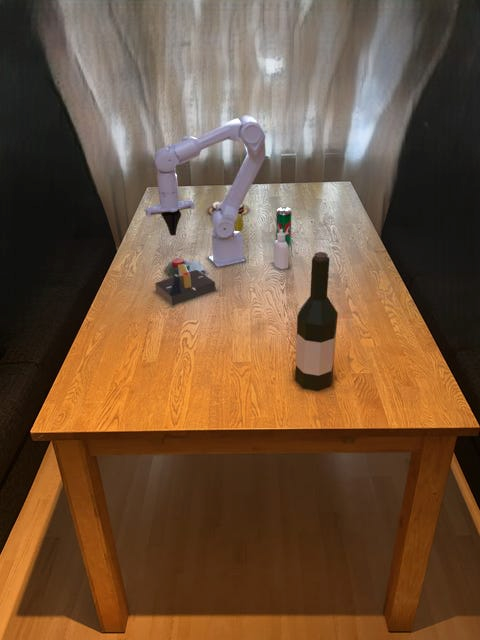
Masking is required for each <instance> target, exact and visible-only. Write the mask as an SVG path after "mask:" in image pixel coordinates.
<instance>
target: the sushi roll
mask: <svg viewBox="0 0 480 640" xmlns="http://www.w3.org/2000/svg"><path fill="white" fill-rule="evenodd" d="M224 200H225V199H221V200H219V201H215V202H214V203H212V206H211V207H210V208H209V210H208V212H209V213H210V215H212V214H213V212H214V211H216V210H217V209H218V208H219V206H220V204H221V203H222V202H224ZM247 212H248V207H247V206H246V205H244V203H242V204H241V206H240V208H239V210H238V214H240V215H241V216H243V215H245V214H247Z"/></svg>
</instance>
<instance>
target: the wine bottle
mask: <svg viewBox="0 0 480 640" xmlns="http://www.w3.org/2000/svg"><path fill="white" fill-rule="evenodd" d="M330 259H331V258H330V257H329V256H328V253H326V252H324V251H318V252H315V253H314V256H313V257H312V258H311V270H310V271H311V273H310V274H311V275H310V294H309V296H308V298H307V299H306V301H305V302H304V303H303V305H301V307H300V309H299V311H298V313H297V316H296V343H295V344H296V345H295V374H294V375H295V377H294V381H295V382H296V383H297V384H298V385H299V386H300V387H301V388H302V389H304V390H309V391H310V390H311V391H316V392H320V391H322V390H324V389H327V388H330V387H331V384H332V381H333V377H334V363H335V351H336V340H337V327H338V314H339V312H338V311H337V310H336V308H335V306H334V305H333V304H332V301H331V300H330V298H329V296H328V287H329V272H330Z"/></svg>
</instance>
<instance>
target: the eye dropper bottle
mask: <svg viewBox="0 0 480 640" xmlns="http://www.w3.org/2000/svg"><path fill="white" fill-rule="evenodd" d="M273 265H274V267H276V268H277V269H279V270H286V269H288V268H289V245H288V244H287V242H286V241H285V233H283V230H282V229H281V230H280V233H278V234H277V240H276V239H275V240H274V242H273Z"/></svg>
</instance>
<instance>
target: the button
mask: <svg viewBox="0 0 480 640" xmlns="http://www.w3.org/2000/svg"><path fill="white" fill-rule="evenodd" d="M171 261H172V266H173V267H175V268H178V265H180V264H184V261H185V260H184V258H181V257H174V258H173V259H171Z"/></svg>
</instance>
